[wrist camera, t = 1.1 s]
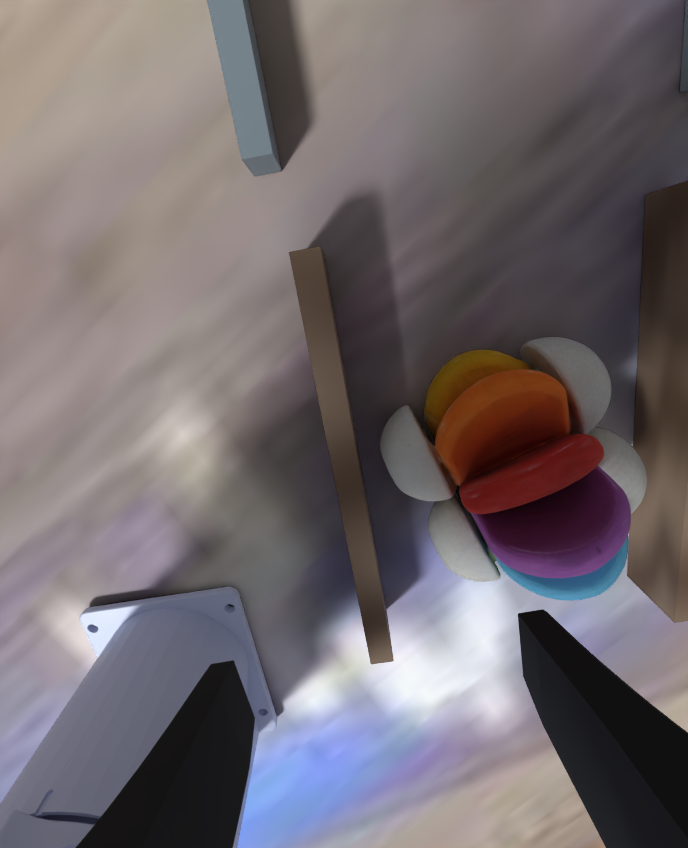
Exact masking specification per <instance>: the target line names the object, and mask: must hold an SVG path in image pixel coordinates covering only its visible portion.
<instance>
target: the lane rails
mask: <svg viewBox="0 0 688 848" xmlns="http://www.w3.org/2000/svg"><path fill="white" fill-rule="evenodd" d="M289 255H290V260H291V265H292V270H293V275H294V280H295V285H296V290H297V295H298V300H299V305H300V310H301V315H302V320H303V325H304V330H305V335H306V340H307V345H308V350H309V355H310V360H311V365H312V370H313V375H314V380H315V385H316V390H317V395H318V400H319V405H320V410H321V415H322V420H323V426H324V431H325V436H326V441H327V446H328V451H329V456H330V461H331V466H332V471H333V476H334V481H335V486H336V491H337V496H338V501H339V506H340V511H341V516H342V521H343V526H344V531H345V536H346V541H347V546H348V551H349V556H350V561H351V566H352V571H353V576H354V581H355V586H356V591H357V596H358V601H359V606H360V611H361V616H362V622H363V627H364V632H365V637H366V642H367V647H368V652H369V657H370V662H371V664H377V663H384V662H391V661H393V653H392V646H391V639H390V632H389V625H388V617H387V610H386V605H385V599H384V593H383V587H382V582H381V576H380V570H379V564H378V559H377V553H376V547H375V542H374V536H373V530H372V524H371V519H370V513H369V507H368V501H367V496H366V490H365V484H364V479H363V473H362V467H361V461H360V456H359V450H358V444H357V438H356V433H355V427H354V421H353V416H352V410H351V404H350V398H349V393H348V387H347V381H346V375H345V370H344V364H343V358H342V353H341V347H340V341H339V335H338V330H337V324H336V318H335V312H334V307H333V301H332V295H331V290H330V284H329V278H328V272H327V267H326V261H325V255H324V253H323V251H322V249H321V246H319V247H314V248H308V249H303V250H298V251H292V252H289ZM633 448H634V449H635V451H636V452H637V453H638V455H639V456H640V458H641V460H642V462H643V464H644V466H645V470H646V476H647V486H646V491H645V495H644V497H643V500H642V502H641V503H640V505H639V506H638V507H637V508H636V510H635V511H634V512H633V513H632V514H631V524H630V530H629V551H628V572H627V576H628V577H629V578H630V579H631V580H632V581H633V582H634V583H635V584H636V585H637V586H638V587H639V588H640V589H641V590H642V591H643V592H644V593H645V594H646V595H647V596H648V597H649V598H650V599H651V600H652V601H653V602H654V603H655V604H656V605H657V606H658V607H659V608H660V609H661V610H662V611H663V612H664V613H665V614H666V615H667V616H668V617H669V618H670V619H671V620H672V621H673V622H674V623H676V622H684V621H688V181H686V182H682V183H679V184H676V185H673V186H670V187H667V188H664V189H661V190H658V191H654V192H651V193H648V194H645V215H644V236H643V257H642V278H641V299H640V320H639V341H638V362H637V383H636V404H635V425H634V446H633Z"/></svg>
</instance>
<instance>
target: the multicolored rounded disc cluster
mask: <svg viewBox="0 0 688 848" xmlns="http://www.w3.org/2000/svg"><path fill="white" fill-rule="evenodd" d="M520 357H521V360H518V359H516V358H514V357H512V356H510V355H507V354H504V353H502V352H498V351H493V350H472V351H467V352H465V353H462V354H460V355H457V356H456V357H454V358H453V359H451V360H450V361H449V362H447V363H446V364H445V365H444V366H443V367H442V368H441V369H440V370H439V372H438V373H437V374H436V376H435V377H434V379H433V380H432V382H431V384H430V386H429V389H428V391H427V395H426V399H425V405H424V409H423V416H424V419H425V421H426V423H427V425H428V427H429V429H430V431H431V432H432V434H433V437H434V440H435V446H434V445H432V444H431V442H430V441H429V440H428V439H427V436H426V433H425V430H424V428H423V427H422V426H421V425H420V424H419V423H418V421H417V419H416V418H415V416H414V414H413V412H412V410H411V409H410V407H409V406H408V405H405V406H402V407H401V408H400V409H398V410H397V411H396V412H395V413H394V414H393V415H392V416H391V417H390V419H389V420H388V422H387V423H386V425H385V427H384V429H383V432H382V436H381V440H380V451H381V454H382V457H383V460H384V462H385V465H386V467H387V469H388V471H389V473H390V475H391V477H392V479H393V480H394V482H395V484H396V485H397V487H398V488H399V489H400V490H401V491H402V492H404V493H405V494H407V495H409V496H411V497H413V498H416V499H419V500H424V501H436V502H435V503H434V505H433V507H432V509H431V512H430V515H429V520H428V531H429V534H430V537H431V539H432V542H433V544H434V546H435V548H436V550H437V552H438V554H439V556H440V558H441V559H442V561H443V563H444V564H445V566H446V567H447V568H448V569H449V570H450V571H451V572H453V573H455V574H456V575H458V576H460V577H462V578H465V579H468V580H472V581H481V582H485V581H493V580H497V579H499V578H500V572H499V570H498V568H497V566H496V564H495V561H498V563H499V565H500V566H501V568H502V569H503V571H504V572H505V573H506V574H507V575H508V576H509V577H510V578H512V579H513V580H514V581H515V582H517V583H518V584H519V585H521V586H523V587H524V588H526V589H528V590H530V591H532V592H534V593H536V594H539V595H541V596H544V597H548V598H552V599H558V600H582V599H586V598H591V597H594V596H597V595H599V594H601V593H603V592H604V591H606V590H607V589H608V588H609V587H610V586H611V585H612V584H613V583H614V582H615V581H616V580H617V578H618V577H619V575H620V574H621V572H622V570H623V568H624V566H625V563H626V559H627V553H628V533H629V530H630V524H631V514H632V513H633V512H634V511H635V510H636V508H637V507H638V506H639V505H640V503H641V502H642V500H643V497H644V495H645V491H646V486H647V476H646V470H645V466H644V464H643V462H642V460H641V458H640V456H639V455H638V453H637V452H636V451H635V449H634V448H633V447H632V446H631V445H630V444H629V443H628V442H627V441H626V440H625V439H624V438H622V437H621V436H619V435H617V434H616V433H613V432H611V431H609V430H606V429H603V428H599V427H595V426H596V425H597V424H598V423H599V422H600V421H601V419H602V418H603V416H604V415H605V413H606V411H607V408H608V406H609V403H610V398H611V380H610V377H609V374H608V372H607V369H606V367H605V365H604V364H603V362H602V361H601V360H600V358H599V357H598V356H597V355H596V354H595V353H594V352H593V351H592V350H591V349H590V348H588V347H587V346H585V345H583V344H581V343H579V342H576V341H574V340H571V339H567V338H561V337H544V338H539V339H535V340H531V341H528V342H527V343H525V344H524V345H523V346H522V348H521V351H520ZM457 485H458V486H459V487H460V488H459V494H460V498H461V500H460V499H459V497H458V495H457V494H456V492H455V491H456V489H457Z"/></svg>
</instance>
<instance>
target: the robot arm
mask: <svg viewBox="0 0 688 848" xmlns="http://www.w3.org/2000/svg"><path fill="white" fill-rule="evenodd" d="M228 604H232V605H234V607H230V606H228ZM518 621H519V632H520V643H521V655H522V666H523V677H524V679H525V682H526V684H527V687H528V689H529V692H530V694H531V697H532V699H533V702H534V704H535V707H536V709H537V712H538V714H539V717H540V719H541V721H542V724H543V726H544V728H545V730H546V732H547V734H548V736H549V738H550V740H551V742H552V744H553V746H554V748H555V750H556V751H557V753H558V755H559V757H560V759H561V761H562V763H563V765H564V767H565V769H566V771H567V773H568V775H569V777H570V779H571V781H572V783H573V785H574V786H575V788H576V790H577V792H578V794H579V796H580V798H581V800H582V802H583V804H584V806H585V808H586V810H587V812H588V814H589V816H590V817H591V819H592V821H593V823H594V825H595V827H596V829H597V831H598V833H599V835H600V837H601V839H602V841H603V843H604V845H605V847H606V848H688V733H687V732H686V731H685V730H683V729H682V728H681V727H680V726H678V725H677V724H676V723H674V722H673V721H672V720H671V719H669V718H668V717H667V716H666V715H664V714H663V713H662V712H660V711H659V710H658V709H657V708H655V707H654V706H653V705H652V704H650V703H649V702H648V701H647V700H645V699H644V698H643V697H642V696H641V695H639V694H638V693H637V692H636V691H634V690H633V689H632V688H631V687H630V686H629V685H627V684H626V683H625V682H624V681H623V680H621V679H620V678H619V677H618V676H617V675H616V674H614V673H613V672H612V671H611V670H610V669H609V668H607V667H606V666H605V665H604V664H603V663H602V662H600V661H599V660H598V659H597V658H596V657H595V656H594V655H593V654H591V653H590V652H589V651H588V650H587V649H586V648H585V647H584V646H583V645H582V644H580V643H579V642H578V641H577V640H576V639H575V638H574V637H573V636H572V635H571V634H570V633H569V632H567V631H566V630H565V629H564V628H563V627H562V626H561V625H560V624H559V623H558V622H557V621H556V620H555V619H554V618H553V617H552V616H551V615H550V614H549V613H547V612H546V611H544V610H537V611H531V612H525V613H519V614H518ZM80 622H81V624H82V626H83V628H84V631H85V633H86V635H87V637H88V639H89V641H90V643H91V646H92V648H93V650H94V652H95V654H96V656H97V660H96V661H95V663H94V664H93V666H92V667H91V669H90V670H89V672H88V673H87V675H86V676H85V678H84V679H83V681H82V682H81V684H80V685H79V687H78V688H77V690H76V691H75V693H74V694H73V696H72V697H71V699H70V700H69V702H68V703H67V705H66V706H65V708H64V709H63V711H62V712H61V714H60V715H59V717H58V718H57V720H56V721H55V723H54V724H53V726H52V727H51V729H50V730H49V732H48V733H47V735H46V736H45V738H44V739H43V741H42V742H41V744H40V745H39V747H38V748H37V750H36V751H35V753H34V754H33V756H32V757H31V759H30V760H29V762H28V763H27V765H26V766H25V768H24V769H23V771H22V772H21V774H20V775H19V777H18V778H17V780H16V781H15V783H14V784H13V786H12V787H11V789H10V790H9V792H8V793H7V795H6V796H5V798H4V799H3V801H2V802H1V804H0V848H237V845H238V840H239V835H240V829H241V824H242V819H243V814H244V808H245V803H246V798H247V792H248V787H249V782H250V777H251V771H252V766H253V761H254V755H255V750H256V745H257V740H258V734H259V733H260V732H268V731H272V730H274V729H275V728H276V725H277V716H276V713H275V709H274V706H273V703H272V700H271V696H270V693H269V690H268V687H267V683H266V680H265V677H264V674H263V670H262V667H261V664H260V660H259V657H258V654H257V651H256V647H255V644H254V641H253V638H252V634H251V631H250V628H249V625H248V621H247V618H246V615H245V612H244V608H243V605H242V602H241V599H240V595H239V593H238V591H237V590H236V589H235V588H232V587H223V588H216V589H209V590H202V591H196V592H189V593H182V594H176V595H169V596H162V597H155V598H149V599H142V600H135V601H129V602H122V603H115V604H108V605H102V606H95V607H89V608H86V609H85V610H84V611H83V613H82V614H81V615H80ZM93 624H94V625H93ZM95 625H96V626H95Z"/></svg>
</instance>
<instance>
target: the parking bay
mask: <svg viewBox="0 0 688 848" xmlns="http://www.w3.org/2000/svg"><path fill="white" fill-rule="evenodd" d="M207 2H208V7H209V12H210V16H211V21H212V25H213V30H214V35H215V39H216V44H217V48H218V53H219V58H220V62H221V67H222V71H223V76H224V80H225V85H226V90H227V94H228V99H229V103H230V108H231V113H232V117H233V122H234V126H235V131H236V136H237V140H238V145H239V149H240V154H241V159H242V161H243V162H244V163H245V165H246V166H247V167H248V168H249V170H250V171H251V172H252V174H253V175H254V176H260V175H265V174H270V173H275V172H280V171H282V170H281V165H280V160H279V155H278V150H277V144H276V139H275V134H274V129H273V124H272V118H271V113H270V108H269V103H268V98H267V93H266V87H265V82H264V77H263V72H262V67H261V62H260V56H259V51H258V46H257V41H256V36H255V30H254V25H253V20H252V15H251V10H250V5H249V0H207ZM683 91H688V0H686V5H685V20H684V36H683V51H682V66H681V81H680V92H683Z"/></svg>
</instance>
